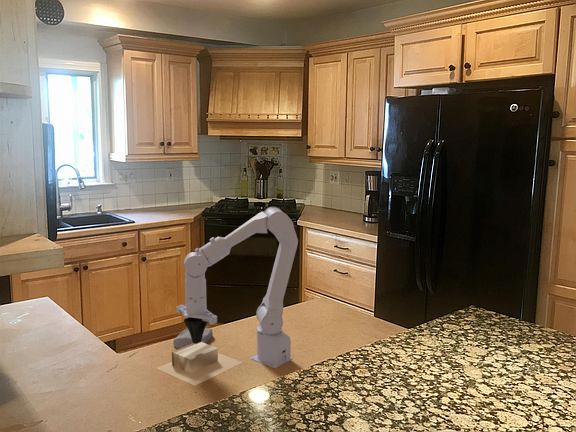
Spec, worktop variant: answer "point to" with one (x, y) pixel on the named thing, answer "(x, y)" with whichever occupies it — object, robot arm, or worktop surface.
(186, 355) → the maple block
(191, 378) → the beige square board
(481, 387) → the worktop surface
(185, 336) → the stone block
